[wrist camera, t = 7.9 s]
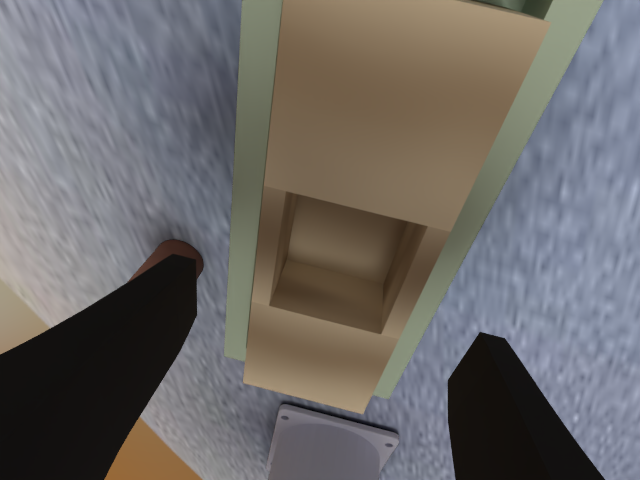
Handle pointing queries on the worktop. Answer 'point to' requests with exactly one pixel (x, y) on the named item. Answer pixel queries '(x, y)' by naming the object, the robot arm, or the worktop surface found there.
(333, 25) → the notched tan block
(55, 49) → the worktop surface
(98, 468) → the robot arm
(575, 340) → the worktop surface
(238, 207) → the cradle
